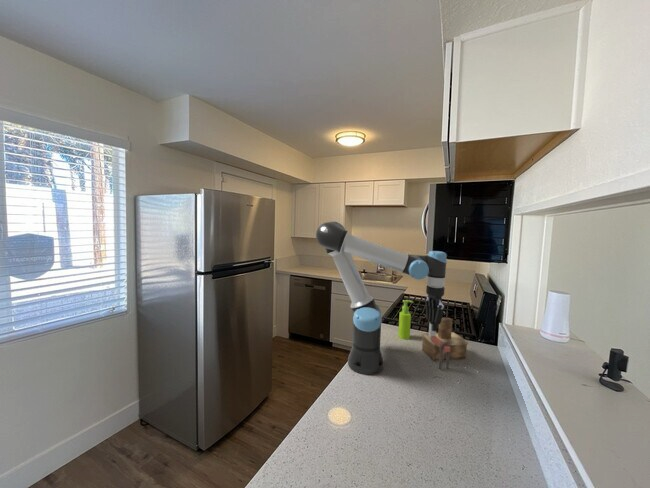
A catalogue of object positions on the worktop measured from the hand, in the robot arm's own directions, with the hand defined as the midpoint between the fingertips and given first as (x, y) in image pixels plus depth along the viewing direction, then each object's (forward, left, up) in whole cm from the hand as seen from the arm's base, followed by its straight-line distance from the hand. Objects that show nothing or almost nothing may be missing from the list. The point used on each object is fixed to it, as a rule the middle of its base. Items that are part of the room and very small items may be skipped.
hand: (432, 336), depth 124 cm
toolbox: (+7, -2, -10) cm, 12 cm away
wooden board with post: (+8, +2, -3) cm, 8 cm away
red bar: (0, -6, -1) cm, 6 cm away
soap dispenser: (-2, +22, -10) cm, 24 cm away
